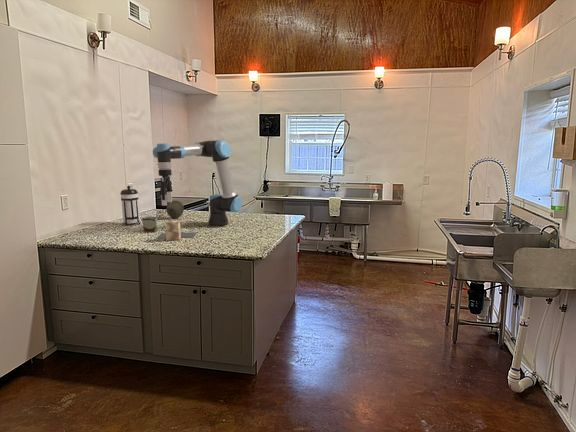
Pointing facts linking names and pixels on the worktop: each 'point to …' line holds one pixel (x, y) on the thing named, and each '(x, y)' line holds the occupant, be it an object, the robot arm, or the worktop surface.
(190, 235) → the rubber mat
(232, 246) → the worktop surface
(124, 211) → the coffee press
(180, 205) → the cantaloupe
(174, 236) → the maple block
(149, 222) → the food container
